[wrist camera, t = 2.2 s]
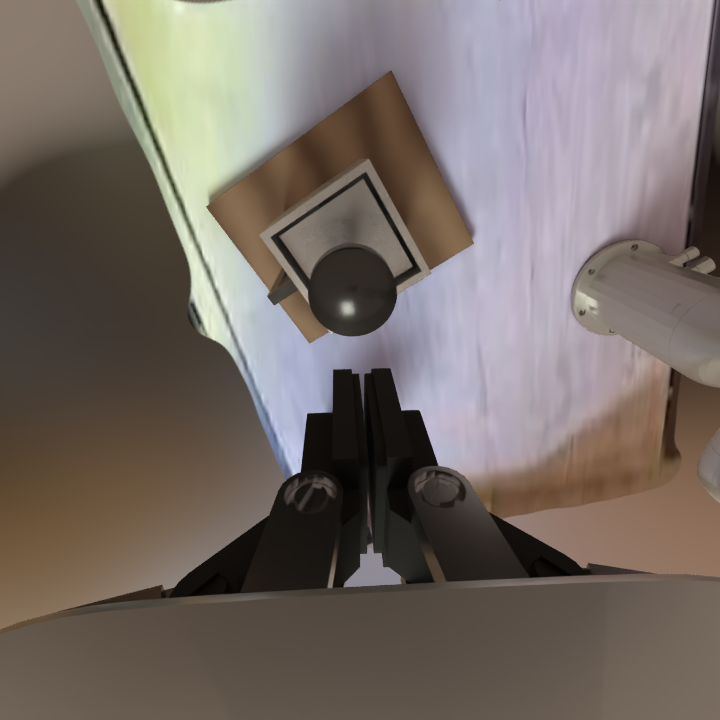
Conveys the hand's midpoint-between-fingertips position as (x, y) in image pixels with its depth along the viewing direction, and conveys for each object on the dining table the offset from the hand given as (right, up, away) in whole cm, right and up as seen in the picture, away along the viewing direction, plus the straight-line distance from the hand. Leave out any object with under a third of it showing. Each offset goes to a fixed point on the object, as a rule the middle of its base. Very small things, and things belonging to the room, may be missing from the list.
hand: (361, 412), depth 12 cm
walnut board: (-2, +18, +36) cm, 40 cm away
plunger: (-1, +11, +22) cm, 25 cm away
